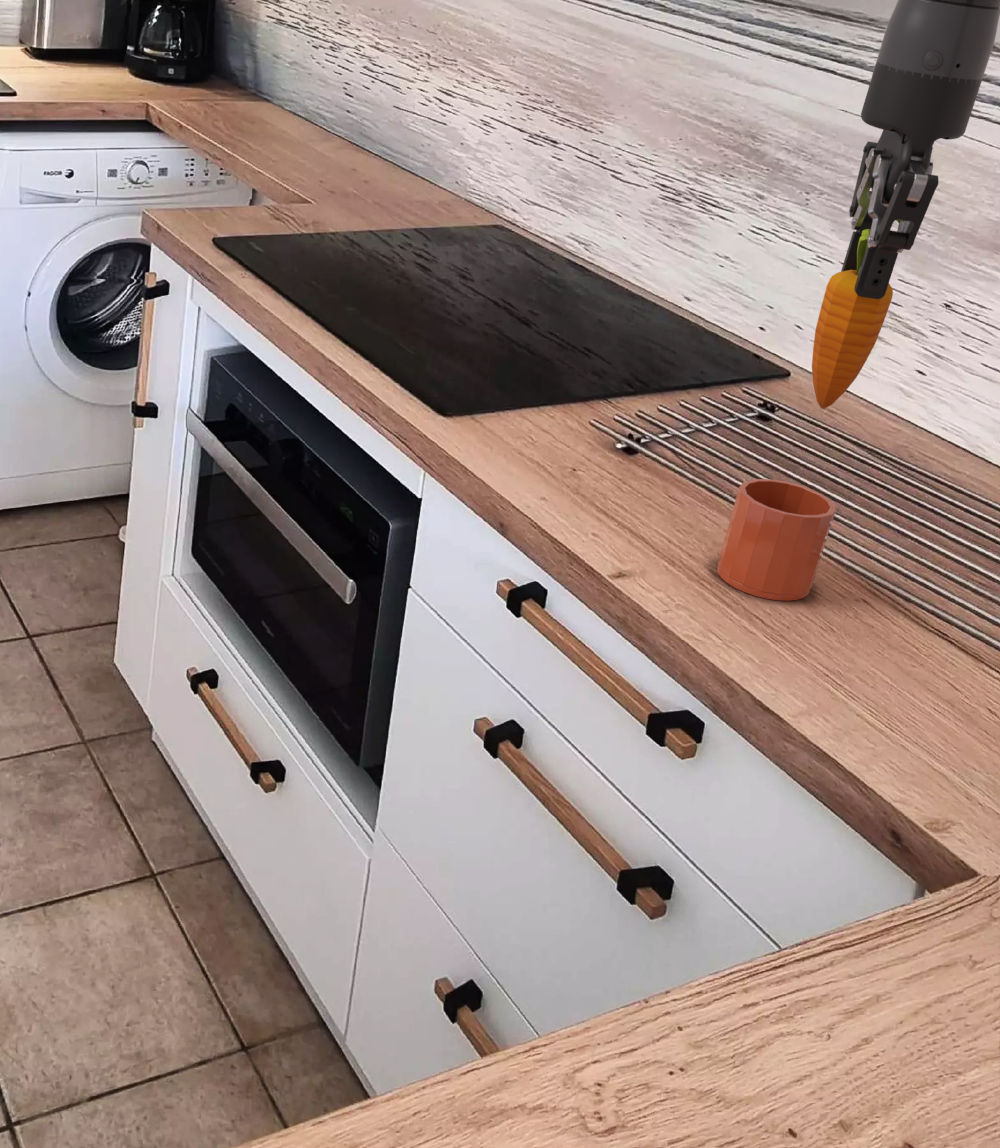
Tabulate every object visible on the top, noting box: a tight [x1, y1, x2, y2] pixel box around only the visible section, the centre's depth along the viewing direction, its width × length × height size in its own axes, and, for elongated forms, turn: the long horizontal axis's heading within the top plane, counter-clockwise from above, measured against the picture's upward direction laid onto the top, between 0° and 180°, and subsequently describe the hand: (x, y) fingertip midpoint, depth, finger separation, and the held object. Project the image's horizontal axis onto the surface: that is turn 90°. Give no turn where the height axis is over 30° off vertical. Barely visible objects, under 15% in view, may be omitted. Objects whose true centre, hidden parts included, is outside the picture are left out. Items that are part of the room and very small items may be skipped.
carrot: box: [811, 229, 894, 410], centre depth 121 cm, size 5×5×15 cm
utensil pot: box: [716, 478, 837, 602], centre depth 132 cm, size 8×8×8 cm
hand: (861, 286), depth 120 cm, fingers closed on carrot, 4 cm apart
